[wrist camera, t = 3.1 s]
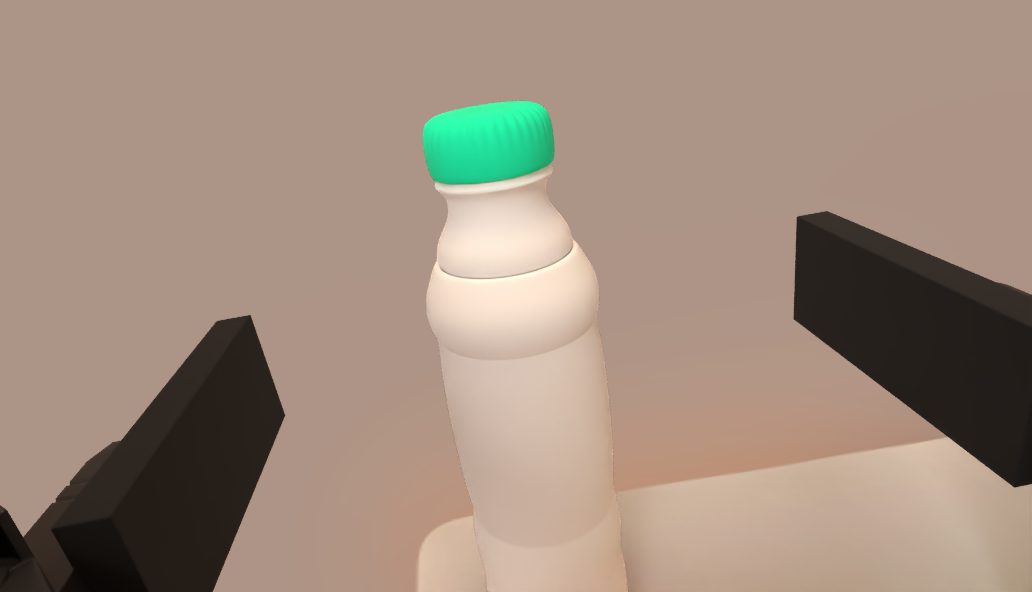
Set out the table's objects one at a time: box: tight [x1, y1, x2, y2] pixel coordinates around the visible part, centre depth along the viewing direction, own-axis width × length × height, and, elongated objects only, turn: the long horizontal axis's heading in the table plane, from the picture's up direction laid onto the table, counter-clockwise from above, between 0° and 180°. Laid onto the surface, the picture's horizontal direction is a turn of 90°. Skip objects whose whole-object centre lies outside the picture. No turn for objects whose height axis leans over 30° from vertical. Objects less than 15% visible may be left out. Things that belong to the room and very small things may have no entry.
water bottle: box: [423, 101, 628, 592], centre depth 27 cm, size 7×7×25 cm
